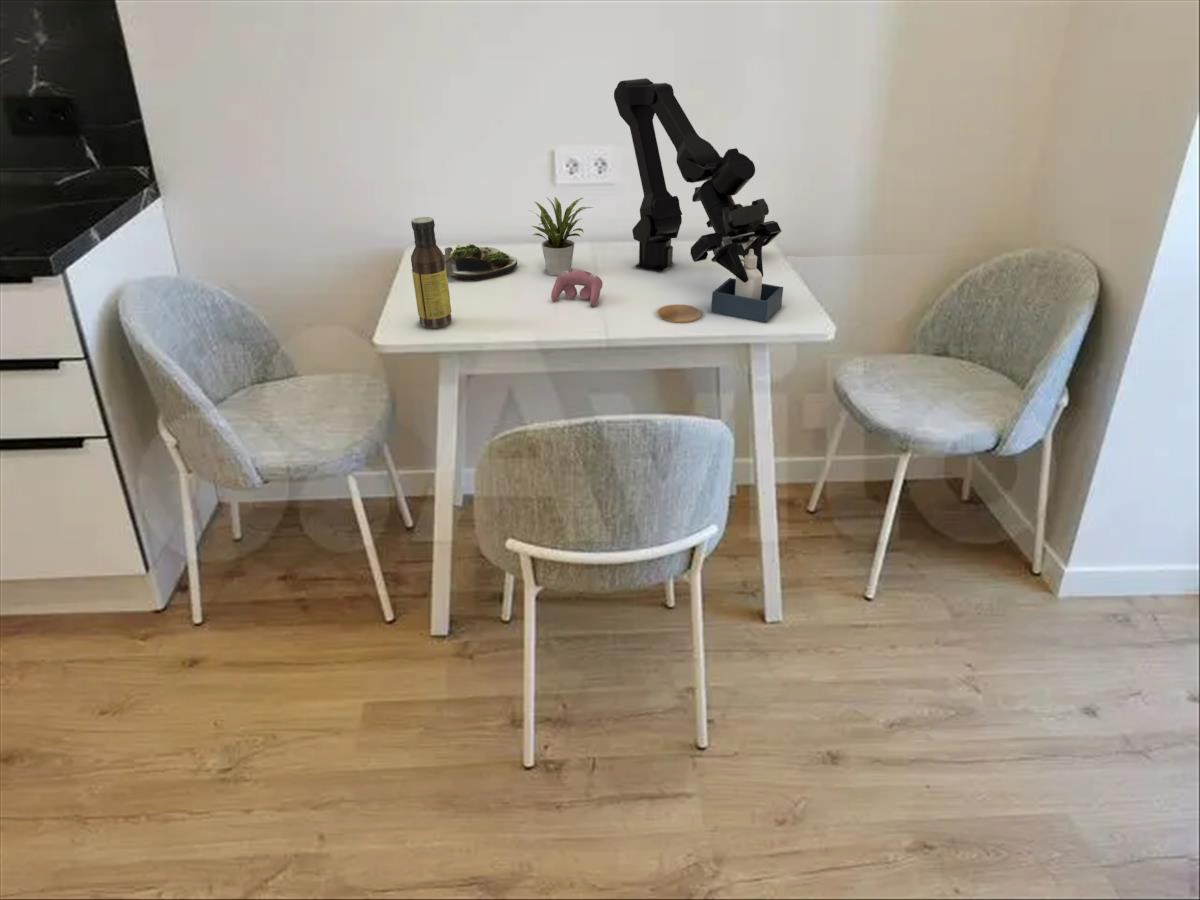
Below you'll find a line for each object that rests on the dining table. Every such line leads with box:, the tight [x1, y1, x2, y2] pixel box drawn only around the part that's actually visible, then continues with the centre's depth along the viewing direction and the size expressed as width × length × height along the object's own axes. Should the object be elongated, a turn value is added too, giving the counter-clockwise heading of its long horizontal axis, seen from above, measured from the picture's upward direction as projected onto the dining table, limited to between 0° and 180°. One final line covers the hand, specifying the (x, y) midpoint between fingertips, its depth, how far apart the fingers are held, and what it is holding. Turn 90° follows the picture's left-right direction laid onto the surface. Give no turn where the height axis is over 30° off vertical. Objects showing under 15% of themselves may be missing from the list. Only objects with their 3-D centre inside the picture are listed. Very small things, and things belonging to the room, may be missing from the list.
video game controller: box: [550, 269, 603, 307], centre depth 177 cm, size 10×5×7 cm, turn 71°
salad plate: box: [443, 243, 518, 282], centre depth 195 cm, size 19×18×5 cm
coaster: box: [657, 304, 702, 324], centre depth 171 cm, size 8×8×1 cm
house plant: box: [527, 196, 594, 276], centre depth 189 cm, size 14×14×16 cm
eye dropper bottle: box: [735, 249, 763, 300], centre depth 170 cm, size 4×6×12 cm
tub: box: [710, 277, 784, 323], centre depth 172 cm, size 11×9×4 cm
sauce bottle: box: [410, 216, 452, 329], centre depth 163 cm, size 6×6×20 cm
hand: (753, 279), depth 169 cm, fingers closed on eye dropper bottle, 3 cm apart
